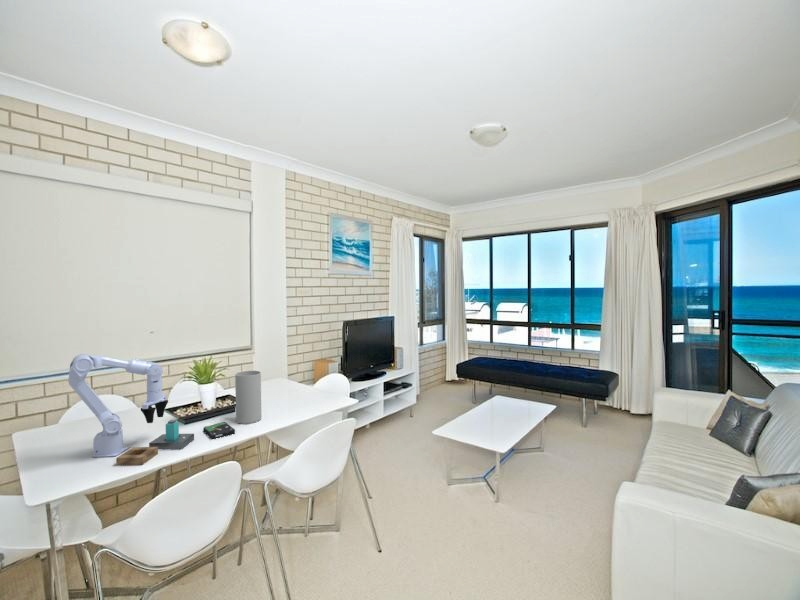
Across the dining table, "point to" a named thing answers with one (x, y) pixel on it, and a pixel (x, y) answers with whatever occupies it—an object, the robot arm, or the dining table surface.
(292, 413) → the dining table surface
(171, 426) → the plug
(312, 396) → the dining table surface
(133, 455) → the tan square ring
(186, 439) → the port block
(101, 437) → the robot arm
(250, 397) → the cylinder vase
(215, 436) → the disk drive
